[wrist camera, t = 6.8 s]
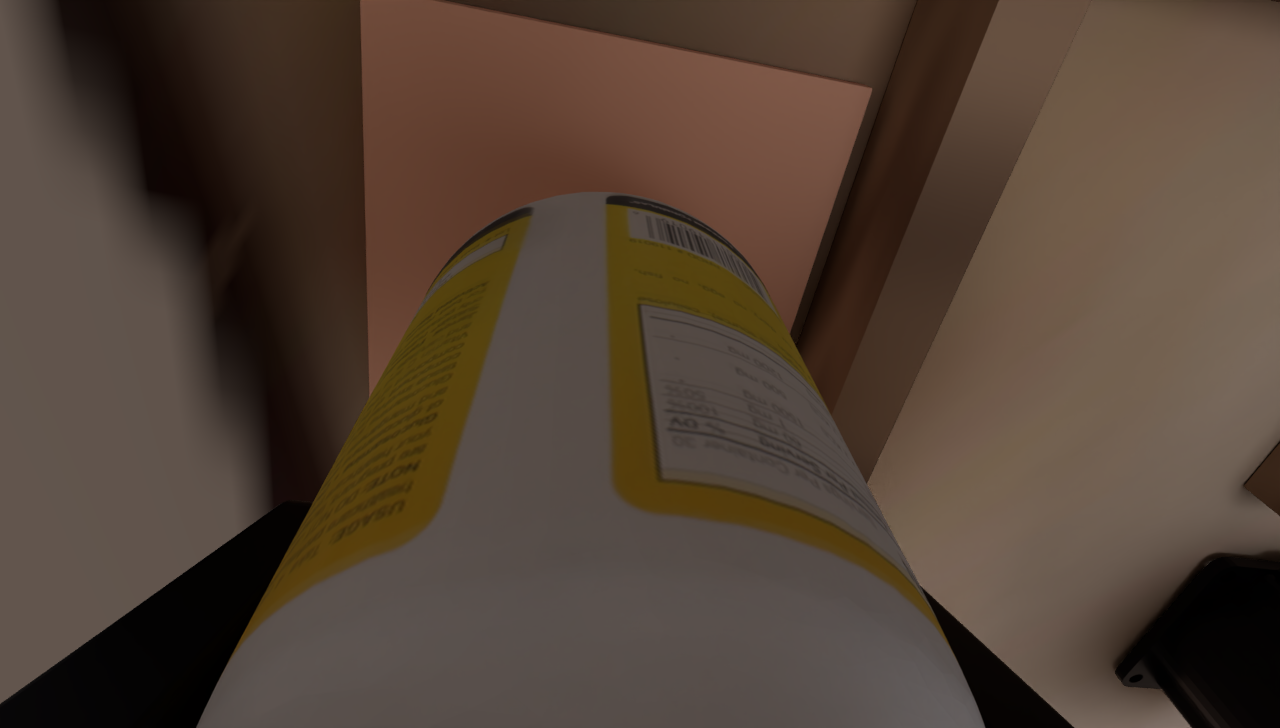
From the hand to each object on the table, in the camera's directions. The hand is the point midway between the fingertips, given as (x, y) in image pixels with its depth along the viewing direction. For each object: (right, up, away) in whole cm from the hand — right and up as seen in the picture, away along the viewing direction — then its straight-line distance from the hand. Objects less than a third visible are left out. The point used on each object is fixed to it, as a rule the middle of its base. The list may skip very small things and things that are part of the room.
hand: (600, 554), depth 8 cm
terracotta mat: (-1, +5, +7) cm, 9 cm away
